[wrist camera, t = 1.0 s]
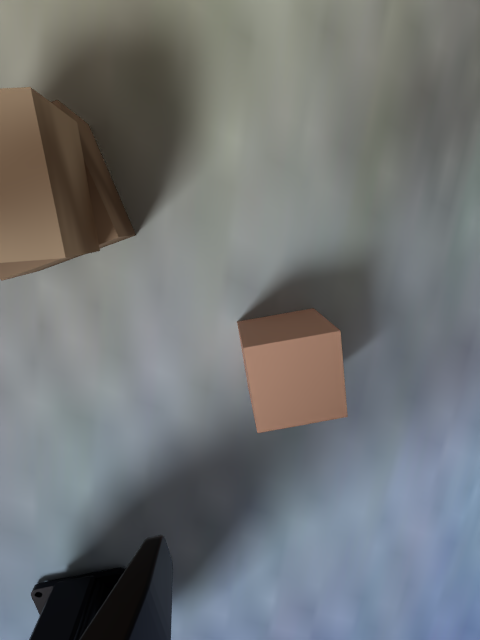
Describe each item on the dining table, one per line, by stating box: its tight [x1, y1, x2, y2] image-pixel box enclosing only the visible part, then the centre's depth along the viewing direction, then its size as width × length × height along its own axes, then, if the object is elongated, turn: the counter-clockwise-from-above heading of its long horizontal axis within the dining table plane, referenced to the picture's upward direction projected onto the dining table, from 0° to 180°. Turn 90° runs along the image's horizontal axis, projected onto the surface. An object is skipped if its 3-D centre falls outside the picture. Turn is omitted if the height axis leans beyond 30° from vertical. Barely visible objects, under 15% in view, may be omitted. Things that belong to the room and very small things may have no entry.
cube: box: [237, 308, 347, 433], centre depth 18 cm, size 4×4×4 cm
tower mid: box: [0, 87, 100, 263], centre depth 12 cm, size 5×5×4 cm
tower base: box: [0, 100, 136, 281], centre depth 16 cm, size 6×6×4 cm
